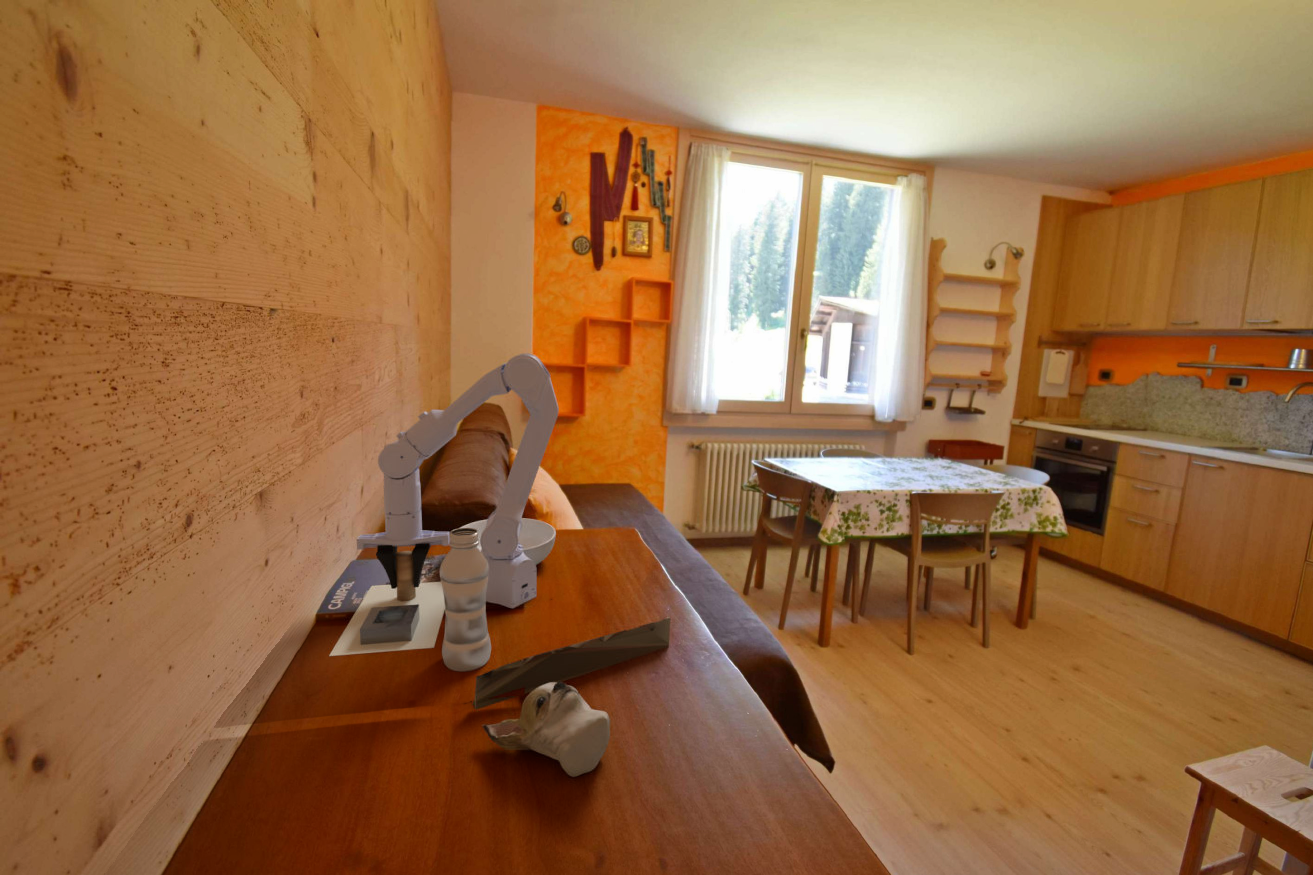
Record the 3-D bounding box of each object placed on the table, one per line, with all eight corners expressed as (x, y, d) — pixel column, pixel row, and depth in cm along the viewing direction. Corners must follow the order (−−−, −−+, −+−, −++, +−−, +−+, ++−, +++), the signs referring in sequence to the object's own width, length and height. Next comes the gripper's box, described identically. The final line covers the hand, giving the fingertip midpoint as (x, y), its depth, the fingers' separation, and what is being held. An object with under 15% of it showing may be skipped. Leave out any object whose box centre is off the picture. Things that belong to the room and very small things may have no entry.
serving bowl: (429, 575, 112) (428, 541, 111) (490, 541, 132) (489, 512, 131) (523, 592, 106) (523, 556, 105) (572, 554, 126) (572, 524, 125)
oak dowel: (419, 596, 100) (418, 553, 99) (404, 602, 98) (402, 558, 96) (408, 592, 102) (407, 549, 100) (393, 598, 99) (391, 554, 98)
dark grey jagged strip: (664, 644, 90) (665, 612, 89) (669, 647, 89) (670, 615, 88) (472, 706, 73) (472, 667, 72) (475, 711, 72) (475, 672, 71)
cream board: (371, 590, 104) (371, 585, 104) (452, 586, 107) (452, 581, 107) (329, 662, 81) (328, 655, 81) (434, 653, 84) (433, 647, 84)
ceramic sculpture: (568, 730, 56) (475, 681, 65) (570, 811, 57) (478, 752, 66) (636, 682, 64) (545, 644, 73) (637, 753, 65) (548, 708, 74)
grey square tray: (372, 622, 91) (371, 607, 90) (419, 618, 92) (419, 604, 92) (360, 644, 84) (359, 628, 84) (411, 640, 86) (410, 625, 85)
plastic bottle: (477, 682, 78) (475, 542, 74) (432, 675, 79) (428, 536, 76) (499, 657, 84) (498, 527, 81) (457, 651, 85) (454, 522, 82)
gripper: (450, 502, 103) (452, 574, 105) (363, 505, 99) (366, 578, 102) (446, 514, 96) (447, 590, 98) (351, 517, 93) (355, 595, 95)
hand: (406, 585), depth 99 cm, fingers closed on oak dowel, 3 cm apart
